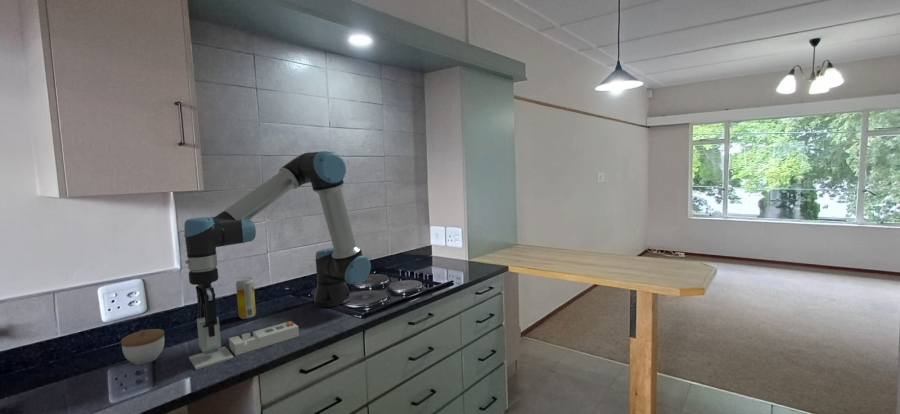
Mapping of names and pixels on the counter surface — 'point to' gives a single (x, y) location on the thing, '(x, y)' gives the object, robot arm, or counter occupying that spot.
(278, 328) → the power strip
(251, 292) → the beer can
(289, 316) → the counter surface
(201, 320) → the block
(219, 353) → the mat
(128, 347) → the lidded jar
